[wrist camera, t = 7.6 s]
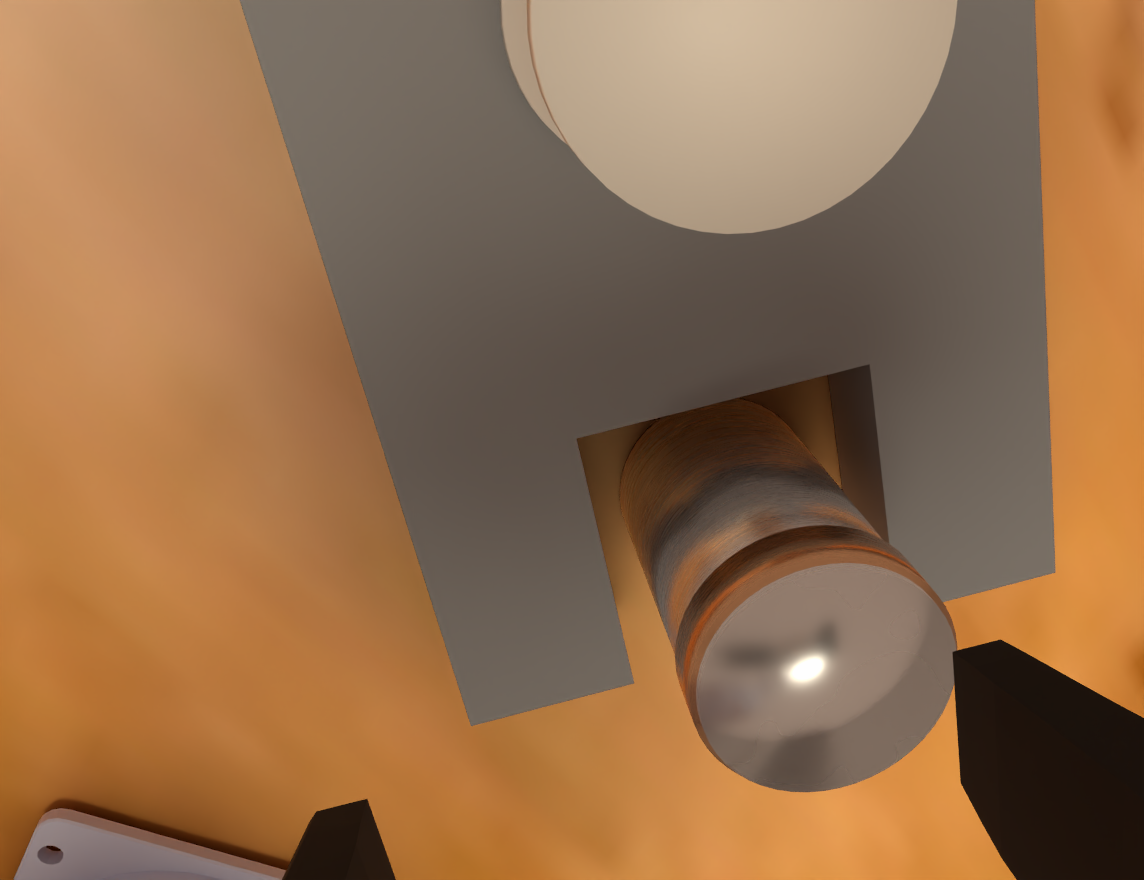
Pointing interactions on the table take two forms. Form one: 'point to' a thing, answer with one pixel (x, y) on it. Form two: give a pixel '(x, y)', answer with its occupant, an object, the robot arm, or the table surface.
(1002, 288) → the notched board
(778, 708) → the peg
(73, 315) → the table surface
